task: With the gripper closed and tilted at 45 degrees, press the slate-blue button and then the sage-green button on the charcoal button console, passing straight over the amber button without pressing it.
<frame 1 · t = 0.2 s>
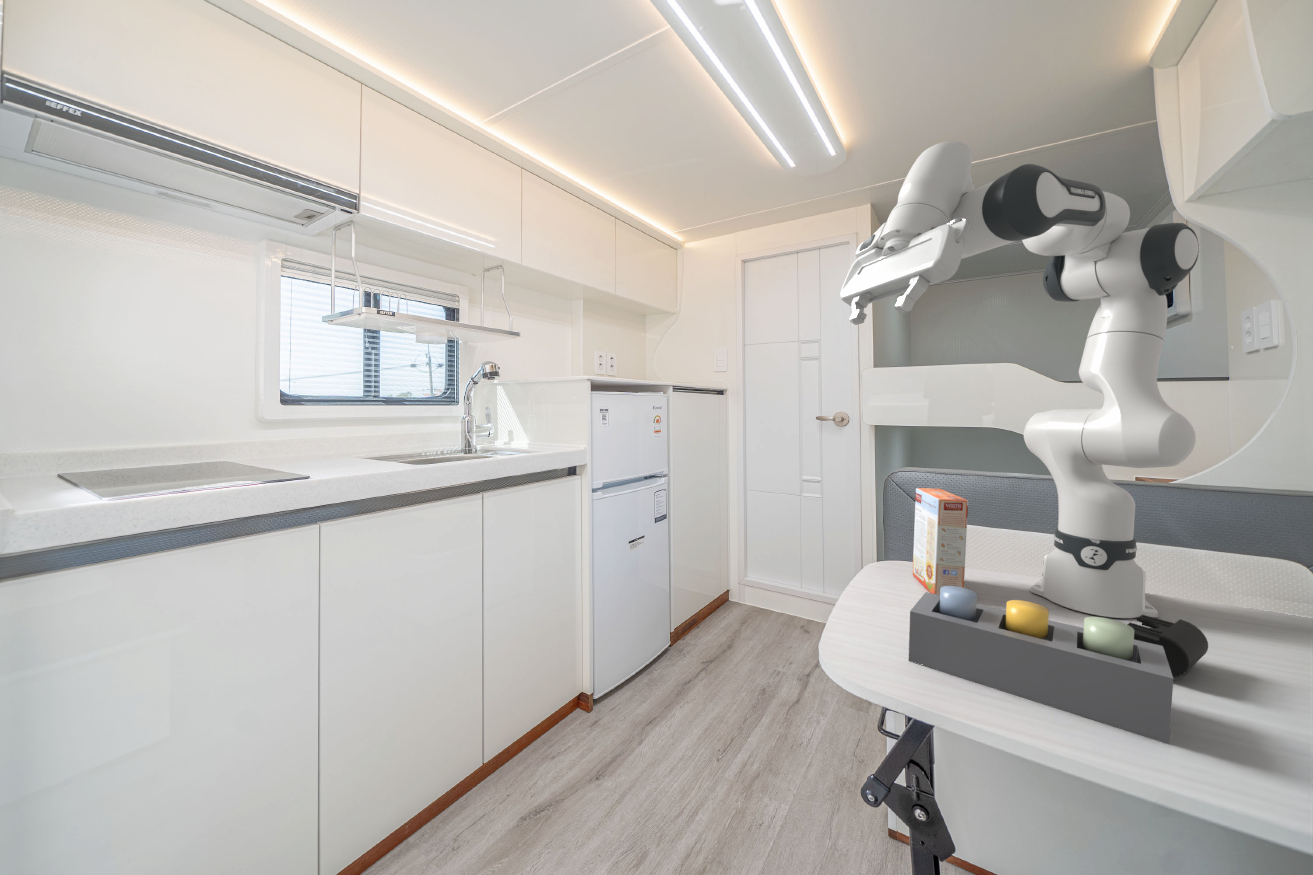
hand: (877, 316, 73), 54 cm above the table, tool tilted 25°, fingers open, 8 cm apart
end cap: (1162, 669, 73), on the table
amber button: (1026, 618, 69), point 9 cm above the table, slide at 0.0 cm
cracker box: (936, 588, 105), on the table
sage button: (1107, 637, 63), point 9 cm above the table, slide at 0.0 cm
button console: (1023, 680, 70), on the table
slate button: (957, 602, 75), point 9 cm above the table, slide at 0.0 cm
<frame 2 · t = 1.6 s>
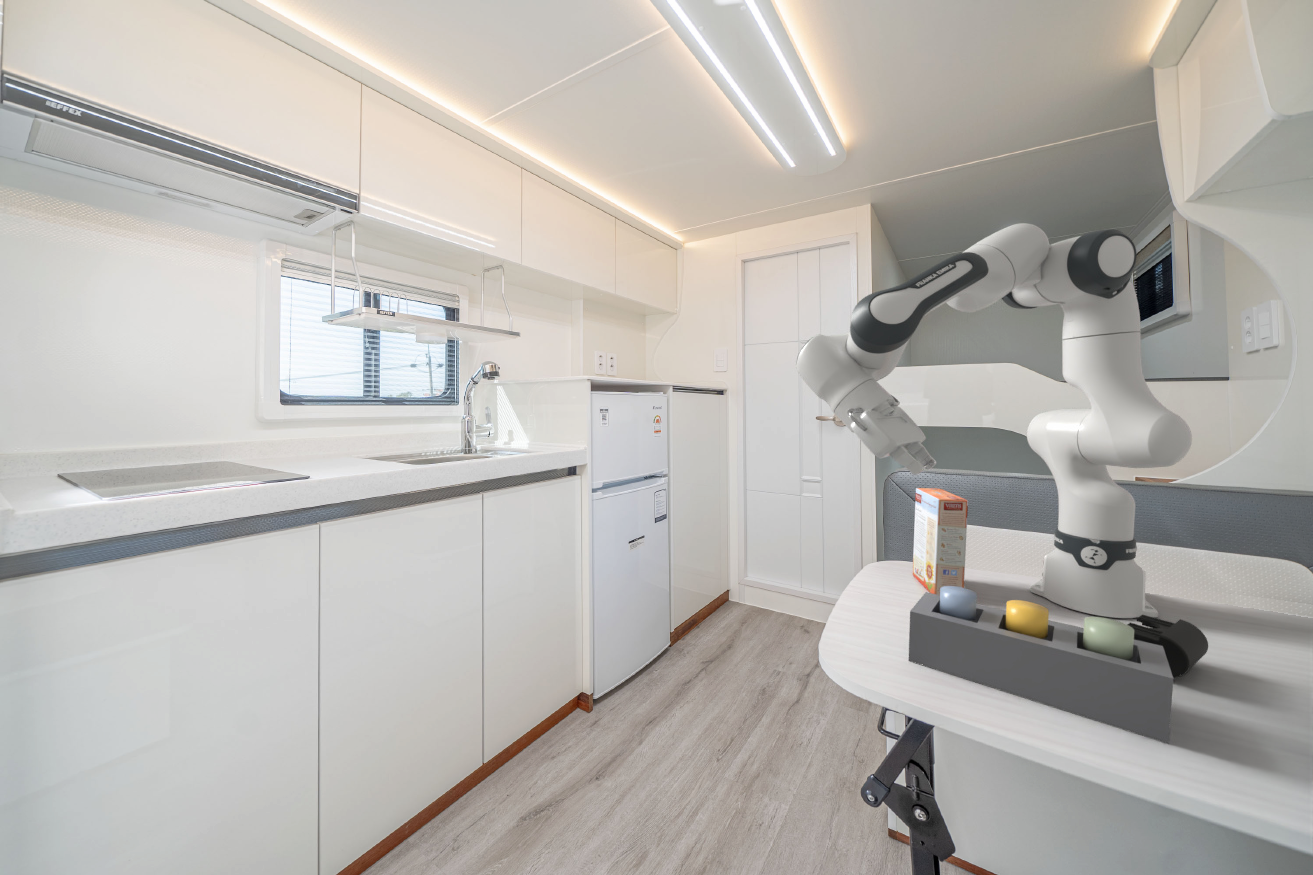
hand: (926, 469, 78), 29 cm above the table, tool tilted 45°, fingers open, 7 cm apart
nothing on the table moved.
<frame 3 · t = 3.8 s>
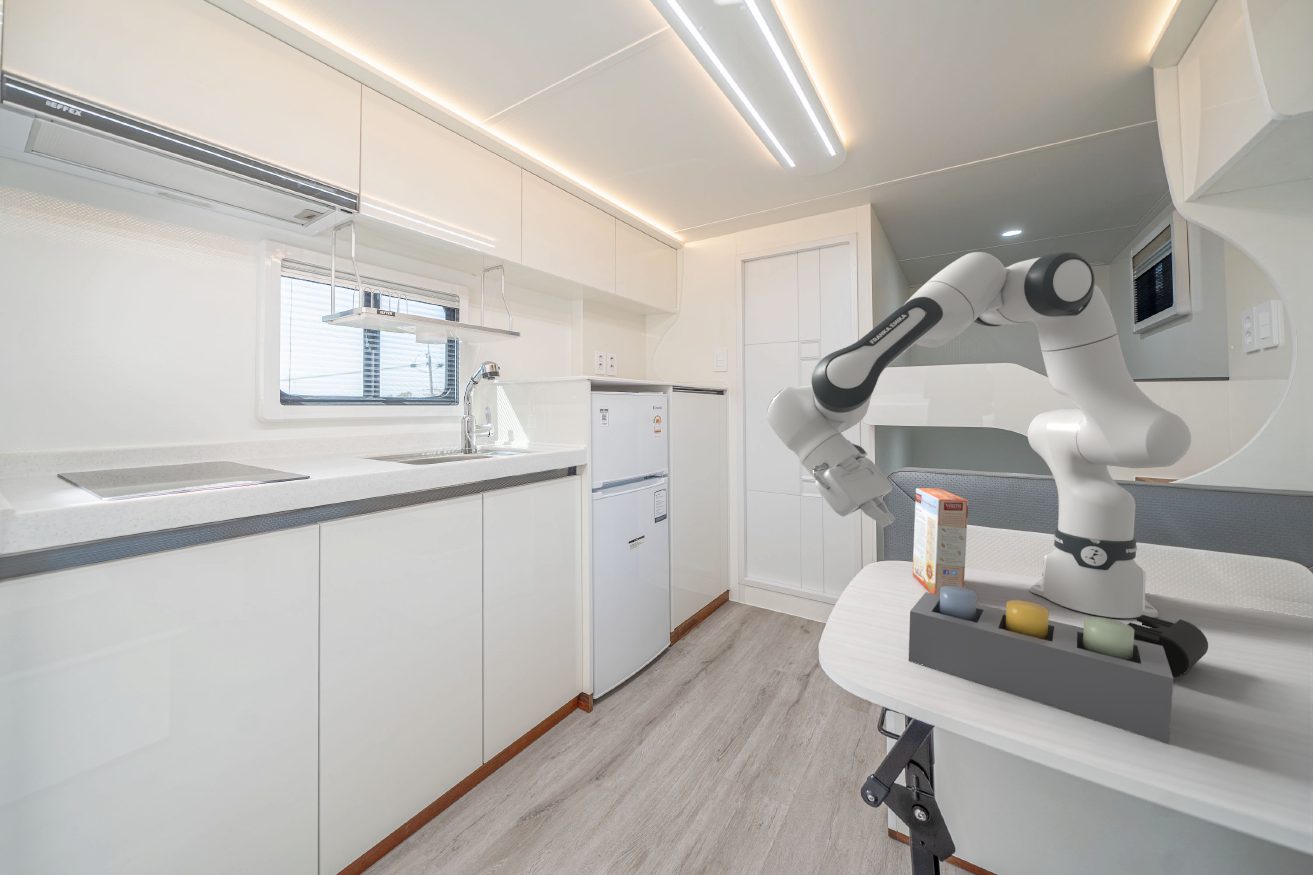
hand: (889, 524, 81), 20 cm above the table, tool tilted 45°, fingers closed
nothing on the table moved.
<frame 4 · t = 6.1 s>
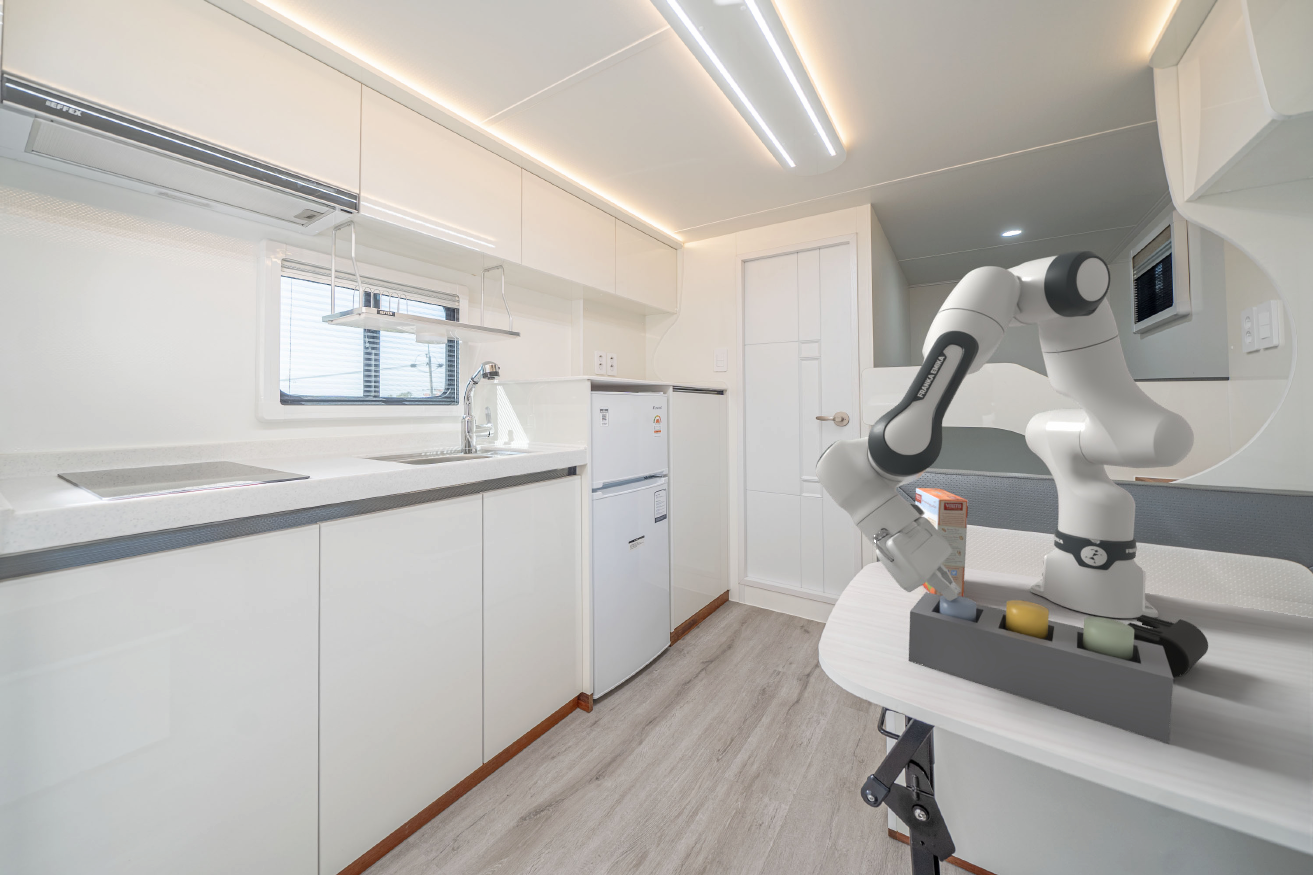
hand: (955, 596, 75), 10 cm above the table, tool tilted 45°, fingers closed, pressing on slate button
slate button: (957, 611, 75), point 8 cm above the table, slide at 1.5 cm, touching gripper
everything else where it was.
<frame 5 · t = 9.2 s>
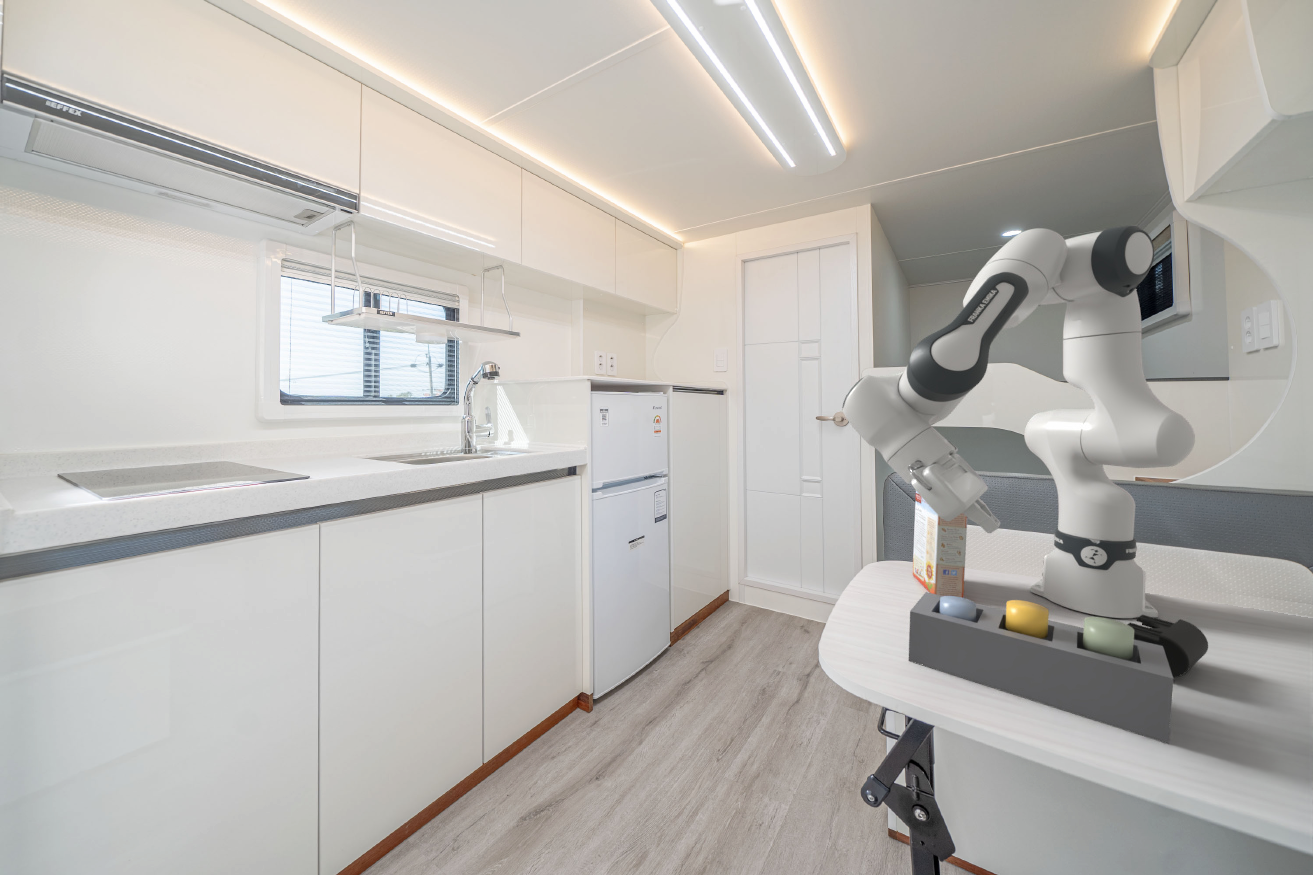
hand: (995, 529, 71), 22 cm above the table, tool tilted 45°, fingers closed
slate button: (957, 612, 75), point 8 cm above the table, slide at 1.6 cm
everything else where it was.
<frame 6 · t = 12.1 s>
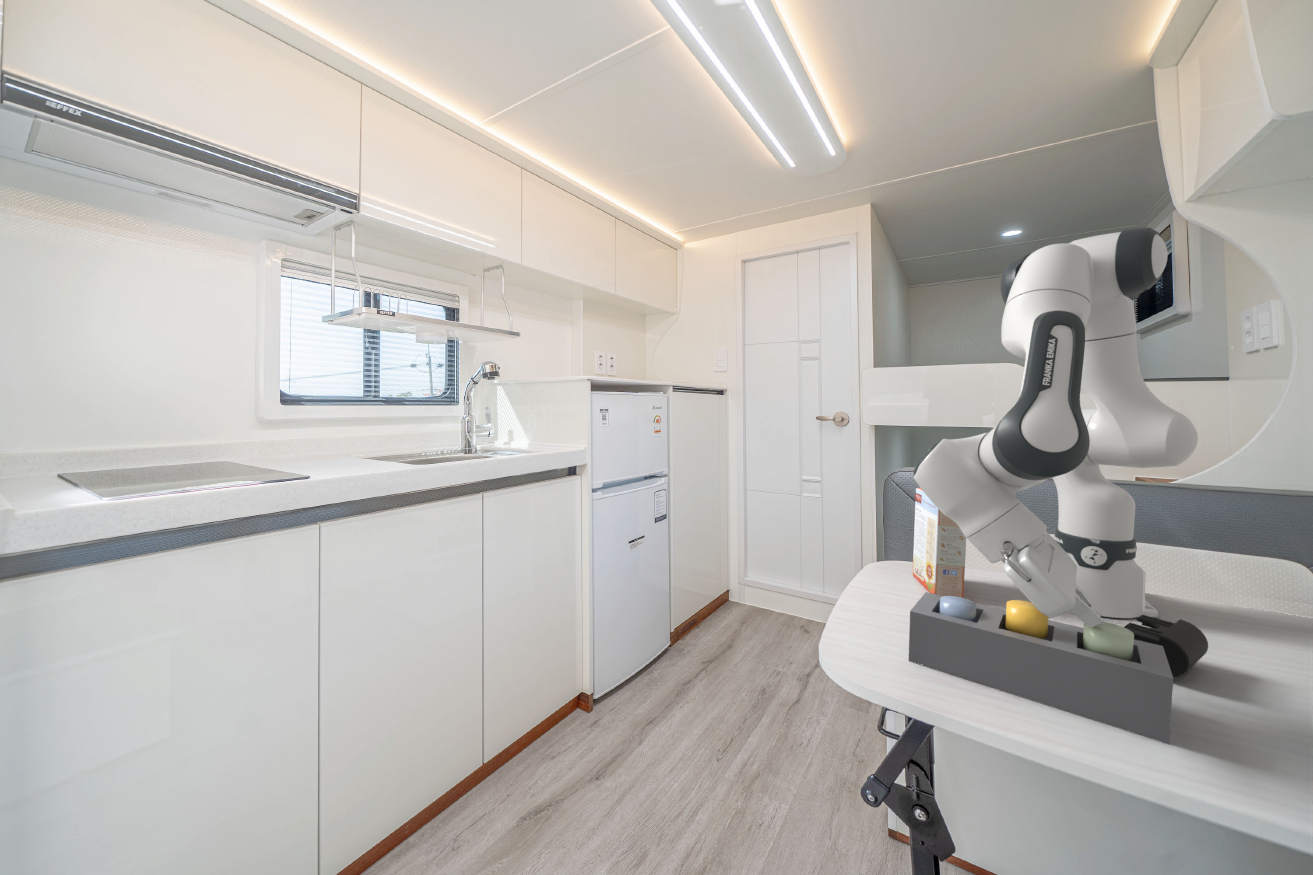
hand: (1096, 621, 64), 11 cm above the table, tool tilted 45°, fingers closed
sage button: (1107, 641, 63), point 9 cm above the table, slide at 0.6 cm, touching gripper
everything else where it was.
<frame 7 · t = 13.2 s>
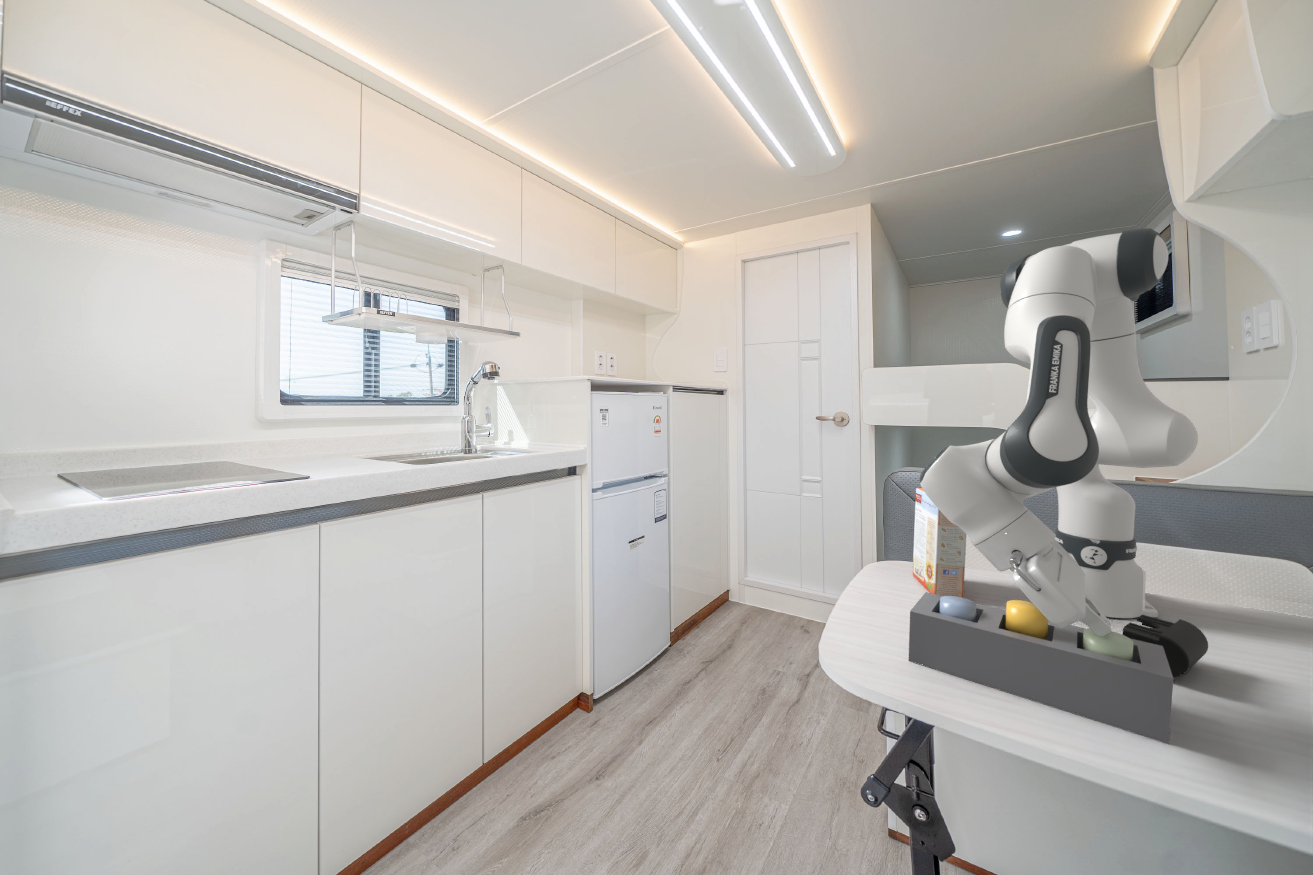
hand: (1105, 630, 63), 10 cm above the table, tool tilted 45°, fingers closed
sage button: (1107, 649, 63), point 8 cm above the table, slide at 1.6 cm
everything else where it was.
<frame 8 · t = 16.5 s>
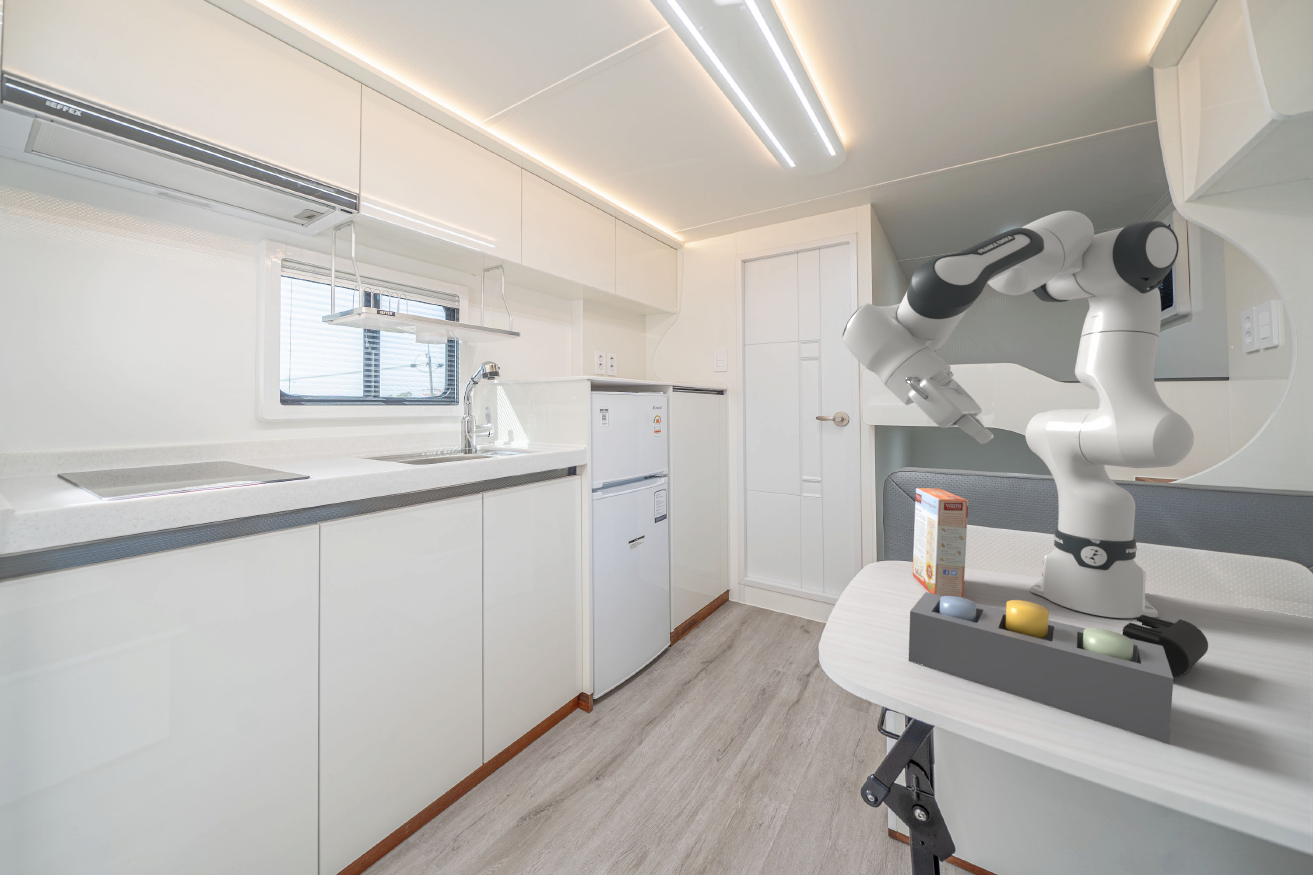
hand: (988, 440, 74), 34 cm above the table, tool tilted 45°, fingers closed
nothing on the table moved.
at the end: slate button slide at 1.6 cm; sage button slide at 1.6 cm; amber button slide at 0.0 cm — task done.
